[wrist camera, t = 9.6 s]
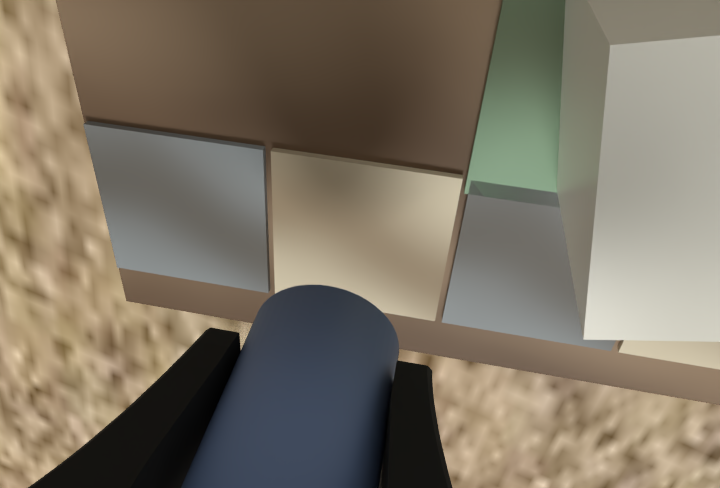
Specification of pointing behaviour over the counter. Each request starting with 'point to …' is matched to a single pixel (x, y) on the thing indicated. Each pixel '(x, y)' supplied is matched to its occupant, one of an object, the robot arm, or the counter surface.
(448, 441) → the counter surface
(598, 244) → the beige cube
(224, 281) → the board
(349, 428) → the blue cylinder
